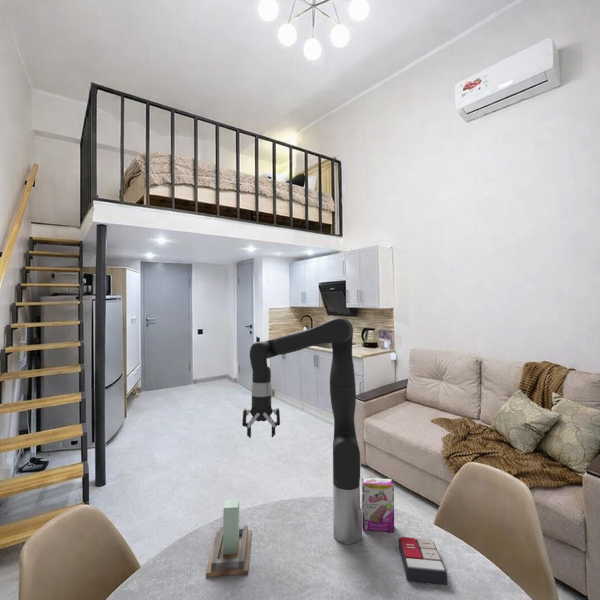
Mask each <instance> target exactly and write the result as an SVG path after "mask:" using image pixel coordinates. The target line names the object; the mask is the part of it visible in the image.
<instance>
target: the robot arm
mask: <svg viewBox="0 0 600 600" xmlns="http://www.w3.org/2000/svg"><path fill="white" fill-rule="evenodd" d="M353 338H354V327H353V325H352V323H351V322H350V320H348V319H347V318H346V317H345V318H344V317H334V318H332V319H330V320H328V321H327V322H324V323H322V324H320V325H317V326H314V327H312V328H309V329H306V330H300V331H295V332H292V333H287V334H284V335H279V336H277V337H275V338H270V339H267V340H263V341H262V340H261V341H256V342H254V343H253V344H252V345H251V346H250V350H249V360H250V366H251V370H252V378H251V379H252V382H251V383H252V384H251V409H247V408H243V412H242V422H241V424H242V427H245V428H246V435H247V437H248V438H250V439H251V438H252V425H254V424H255V422H266V421H267V422H268V424H270V426H271V438H274V437H275V435H276V427H277V426H281V418H280V417H281V416H280V408H279V407H276V408H273V407H272V392H273V391H272V380H271V378H272V377H271V376H272V374H271V373H272V371H271V368H270V367H269V365H268V360H269V359H270V358H274V357H277V356H281V355H282V356H283V355H286V354H291V353H295V352H298V351H302V350H304V349H308V348H311V347H315V346H318V345H324V344H325V345H326V344H327V345H328V344H331V350H332V359H331V366H330V373H329V392H330V393H329V396H330V404H331V405H330V406H331V410H332V415H333V422H334V423H333V440H332V441H333V442H332V492H333V493H332V495H333V497H332V498H333V500H332V501H333V509H332V510H333V514H332V515H333V537H334V538H335V540H337V541H338V542H340V543H341V544H348V545H349V544H351V545H352V544H355V543H357V542H359V541H363V527H362V507H361V485H360V484H361V450H360V446H359V442H358V439H357V435H356V434H357V433H356V426H355V412H356V405H357V403H356V402H357V392H356V391H357V390H356V377H355V367H354V366H355V365H354V360H353V340H354V339H353ZM249 414H251V416H252V417H251V418H250V420H249V421H248V422H247V417H248V416H249ZM272 414H274V415H275V416H276V421H274V420H273V418H272V416H271V415H272Z"/></svg>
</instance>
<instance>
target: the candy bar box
mask: <svg viewBox="0 0 600 600" xmlns="http://www.w3.org/2000/svg"><path fill="white" fill-rule="evenodd" d="M361 510H362V531H370V532H384V533H395V484H394V482H393V479H391V478H381V477H380V478H377V477H361Z"/></svg>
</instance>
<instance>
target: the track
mask: <svg viewBox="0 0 600 600" xmlns="http://www.w3.org/2000/svg"><path fill="white" fill-rule="evenodd" d="M252 533H253V532H252V529H249V527H248V525H239V547H238V553H237V554H223V526H222V527H221V526H220V527H219V530H218V531H216V533H215V538H214V541H213V546H212V549H211V553H210V556H209V561H208V565H207V568H206V573H205V577H206V578H212V577H224V576H225V577H226V576H227V577H228V576H239V575H240V576H242V575H248V574H249V563H250V555H251V553H250V552H251V545H252V544H251V543H252Z"/></svg>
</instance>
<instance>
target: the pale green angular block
mask: <svg viewBox="0 0 600 600" xmlns="http://www.w3.org/2000/svg"><path fill="white" fill-rule="evenodd" d="M222 513H223V515H222V517H223V524H222V527H223V554H237V553H238V547H239V526H240V499H227V500H225V502H224V506H223V512H222Z"/></svg>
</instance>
